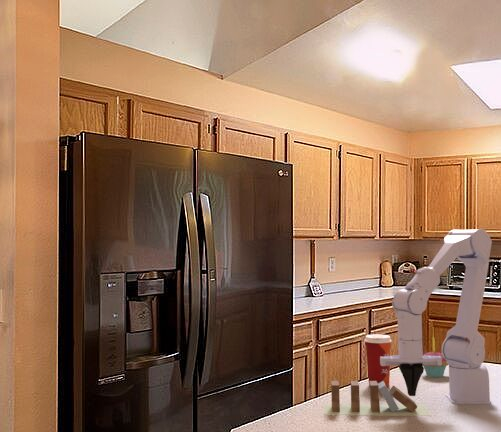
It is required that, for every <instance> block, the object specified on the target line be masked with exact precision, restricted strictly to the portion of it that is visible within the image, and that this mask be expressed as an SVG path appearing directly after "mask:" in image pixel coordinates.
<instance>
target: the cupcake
mask: <svg viewBox="0 0 501 432" xmlns="http://www.w3.org/2000/svg"><path fill="white" fill-rule="evenodd" d="M431 338H432V339H431V340H432V351H430V352H429V351H428V352H425V353H423V355H427V356H440V357H442V365H423V367H424V371H425V375H426V377H430V378H442V377H444V375H445V371H446V367H447V366H449V364H447V360H446V359H445V358H444V357H443V355H442V352H436V339H435V337H434V334H433V335H432V337H431Z"/></svg>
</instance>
